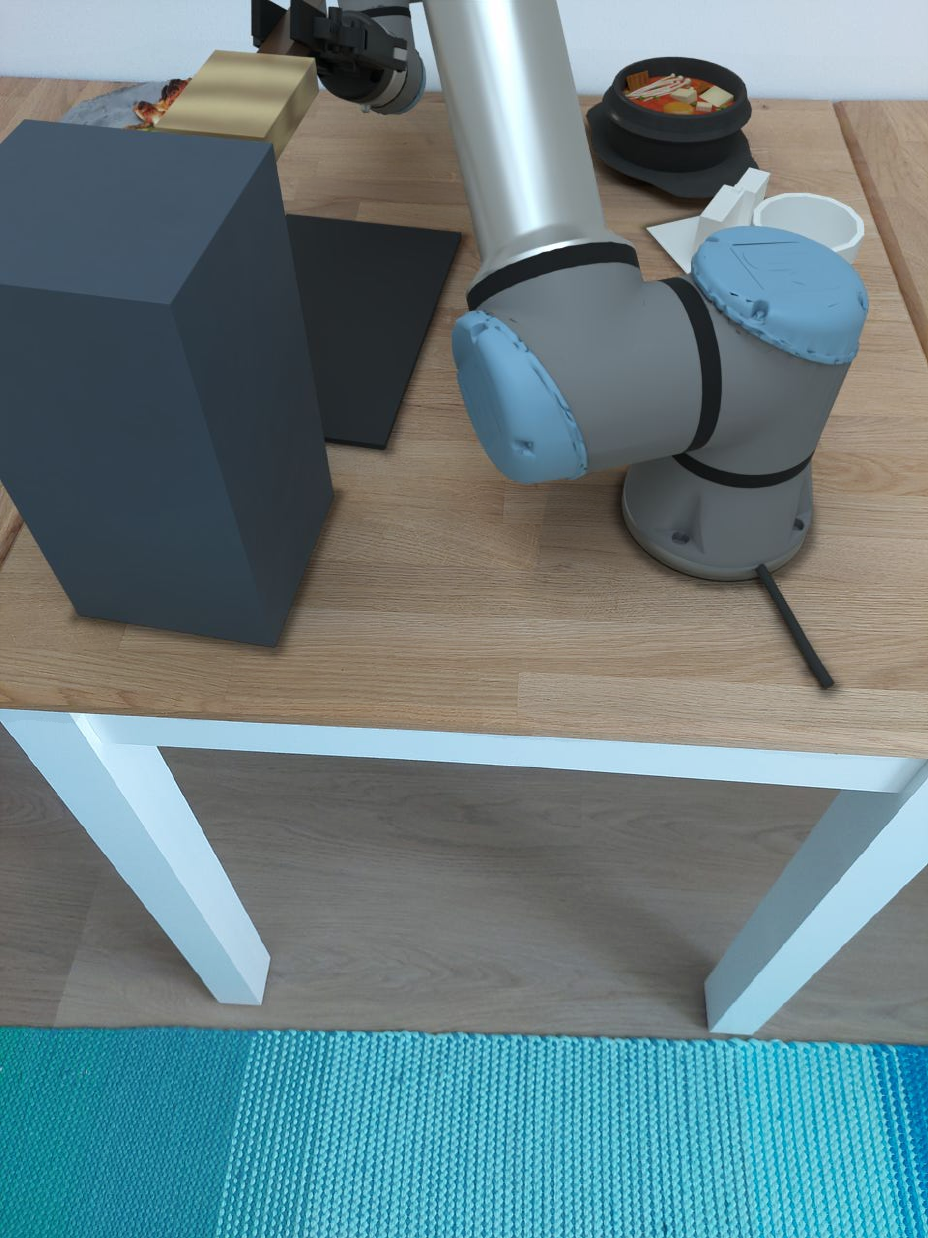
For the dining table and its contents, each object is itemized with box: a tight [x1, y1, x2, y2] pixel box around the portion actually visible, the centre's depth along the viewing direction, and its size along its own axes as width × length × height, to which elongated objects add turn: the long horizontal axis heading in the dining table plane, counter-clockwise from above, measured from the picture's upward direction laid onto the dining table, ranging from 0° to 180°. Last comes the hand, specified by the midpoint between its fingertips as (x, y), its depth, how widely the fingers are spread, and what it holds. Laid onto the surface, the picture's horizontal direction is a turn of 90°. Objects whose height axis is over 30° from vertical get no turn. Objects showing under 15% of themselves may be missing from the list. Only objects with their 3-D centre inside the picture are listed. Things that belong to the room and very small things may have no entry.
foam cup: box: [750, 192, 865, 266], centre depth 85 cm, size 10×9×13 cm
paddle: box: [155, 0, 328, 163], centre depth 72 cm, size 24×8×2 cm, turn 169°
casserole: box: [585, 56, 761, 199], centre depth 108 cm, size 25×19×8 cm
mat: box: [285, 213, 462, 451], centre depth 93 cm, size 34×20×1 cm, turn 169°
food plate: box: [58, 77, 193, 132], centre depth 113 cm, size 25×23×4 cm
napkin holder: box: [645, 167, 771, 275], centre depth 99 cm, size 15×11×6 cm
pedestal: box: [0, 118, 335, 648], centre depth 64 cm, size 16×16×30 cm
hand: (275, 16), depth 72 cm, fingers closed on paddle, 2 cm apart
